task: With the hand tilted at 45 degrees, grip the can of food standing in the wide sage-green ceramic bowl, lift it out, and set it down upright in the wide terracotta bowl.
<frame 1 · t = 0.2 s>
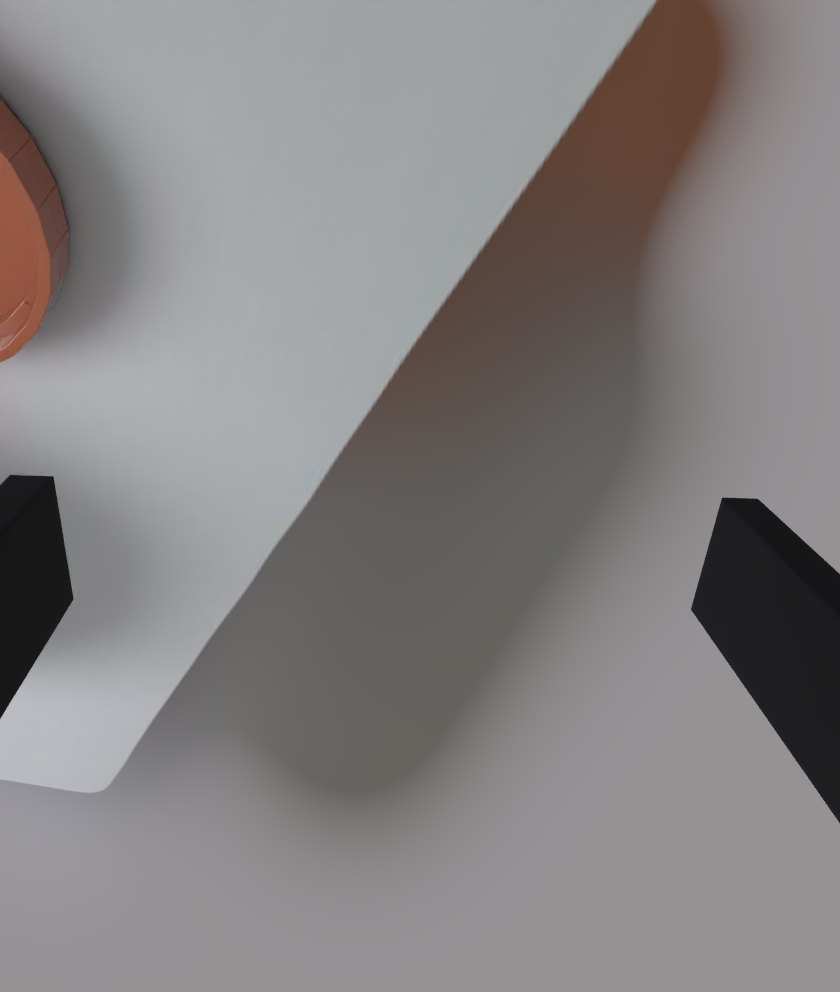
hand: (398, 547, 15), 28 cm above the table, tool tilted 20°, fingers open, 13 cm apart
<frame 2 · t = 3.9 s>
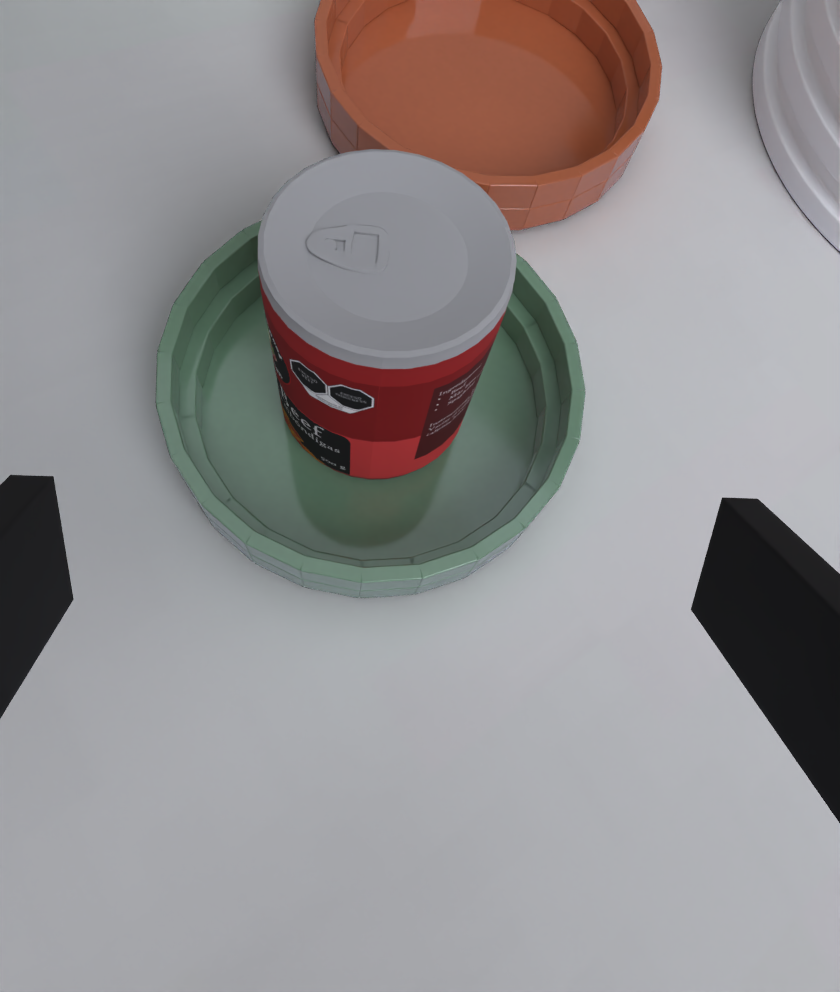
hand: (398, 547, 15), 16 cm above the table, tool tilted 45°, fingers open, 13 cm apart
canned food: (373, 406, 33), resting on sage bowl
sage bowl: (372, 407, 33), on the table
terracotta bowl: (479, 99, 39), on the table
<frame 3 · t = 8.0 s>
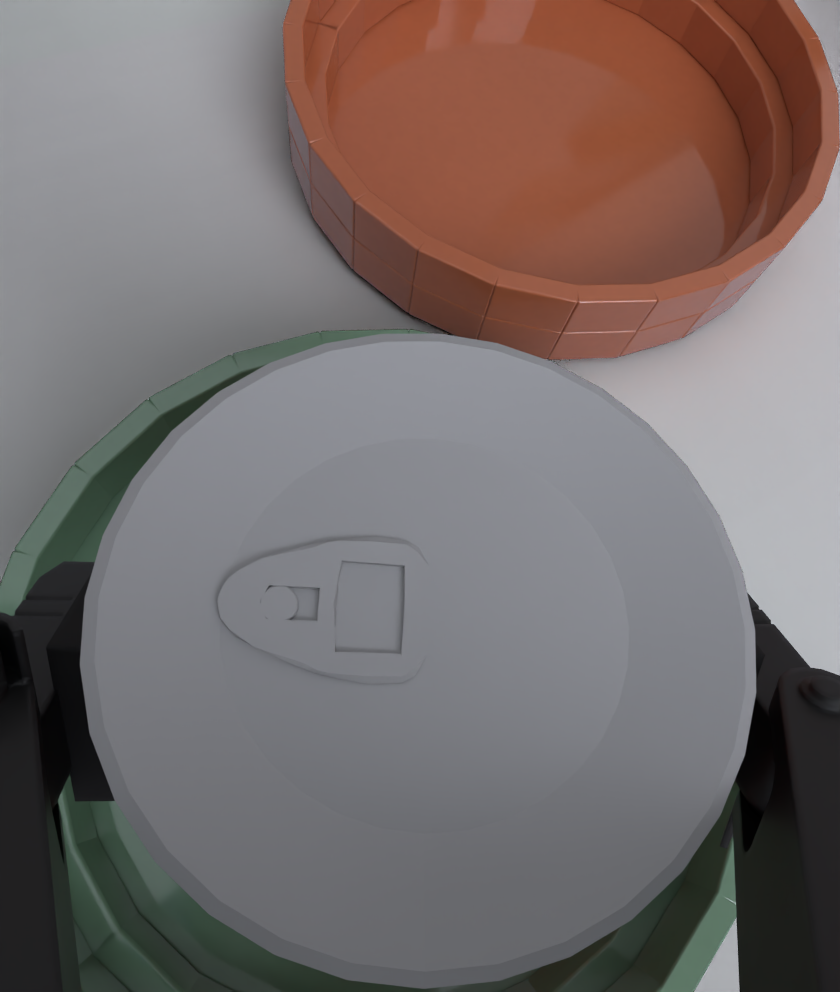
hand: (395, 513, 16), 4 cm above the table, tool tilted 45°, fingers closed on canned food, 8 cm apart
canned food: (382, 687, 19), resting on sage bowl, touching gripper
sage bowl: (382, 687, 19), on the table
terracotta bowl: (540, 144, 26), on the table
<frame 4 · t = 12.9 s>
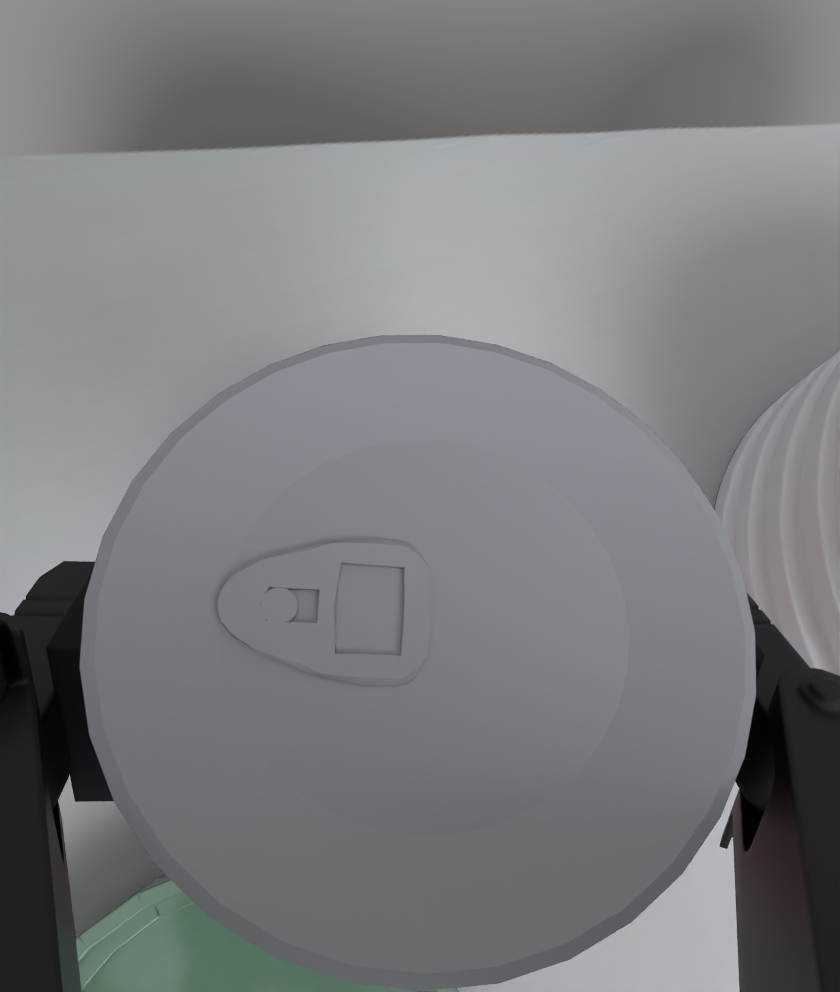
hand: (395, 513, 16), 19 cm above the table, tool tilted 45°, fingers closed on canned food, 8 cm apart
canned food: (382, 687, 19), point 14 cm above the table, touching gripper
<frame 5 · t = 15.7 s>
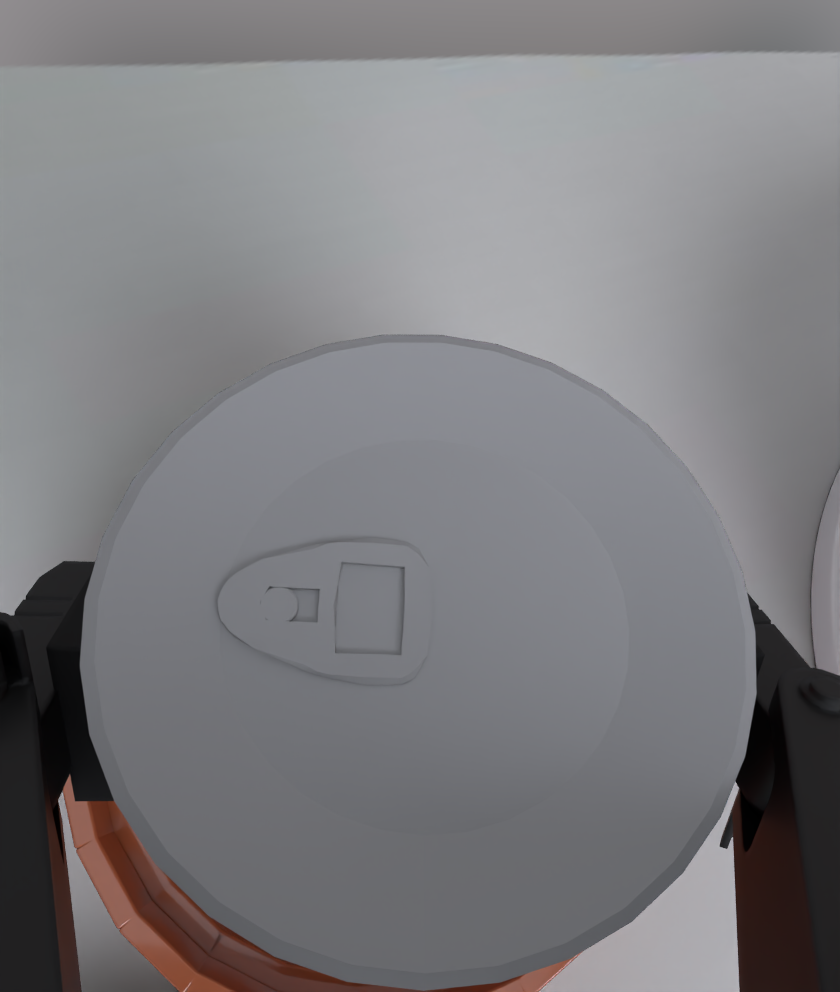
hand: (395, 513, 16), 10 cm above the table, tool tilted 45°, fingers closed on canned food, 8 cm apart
canned food: (382, 687, 19), point 5 cm above the table, touching gripper
terracotta bowl: (372, 697, 24), on the table
when the fingers open (4 cm above the table, at t = 17.6 s): canned food stays where it is, resting on terracotta bowl.
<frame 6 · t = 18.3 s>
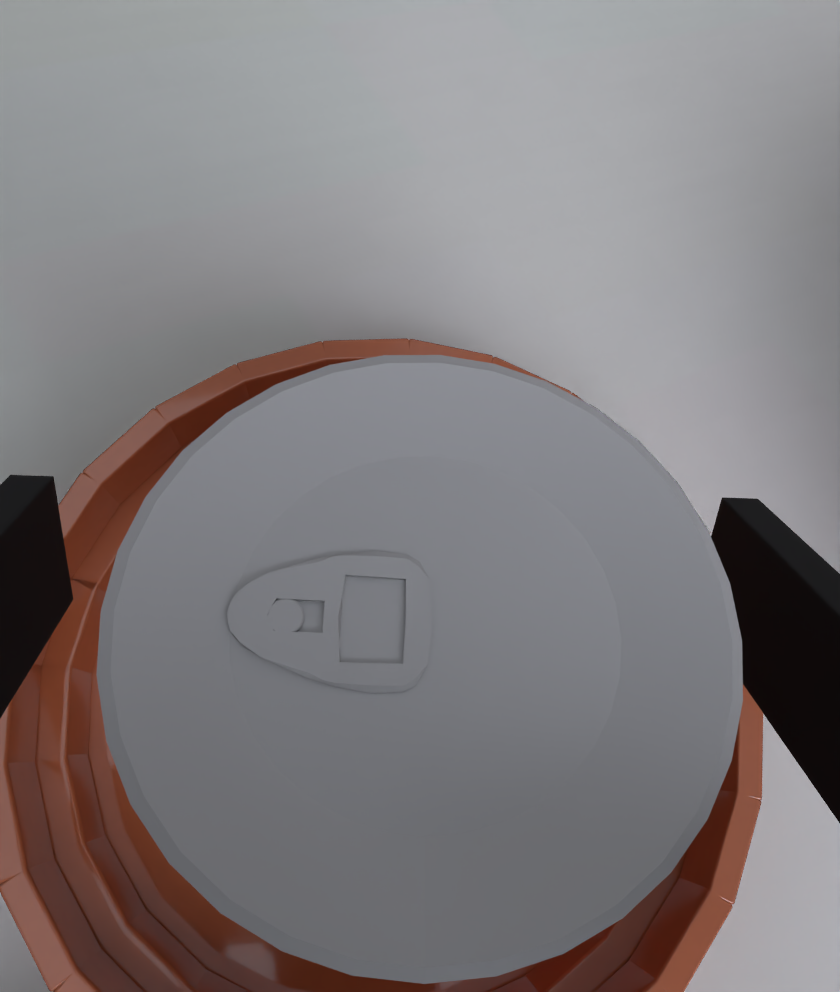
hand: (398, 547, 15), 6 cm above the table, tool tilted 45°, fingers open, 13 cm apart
canned food: (384, 691, 19), resting on terracotta bowl
terracotta bowl: (383, 689, 20), on the table
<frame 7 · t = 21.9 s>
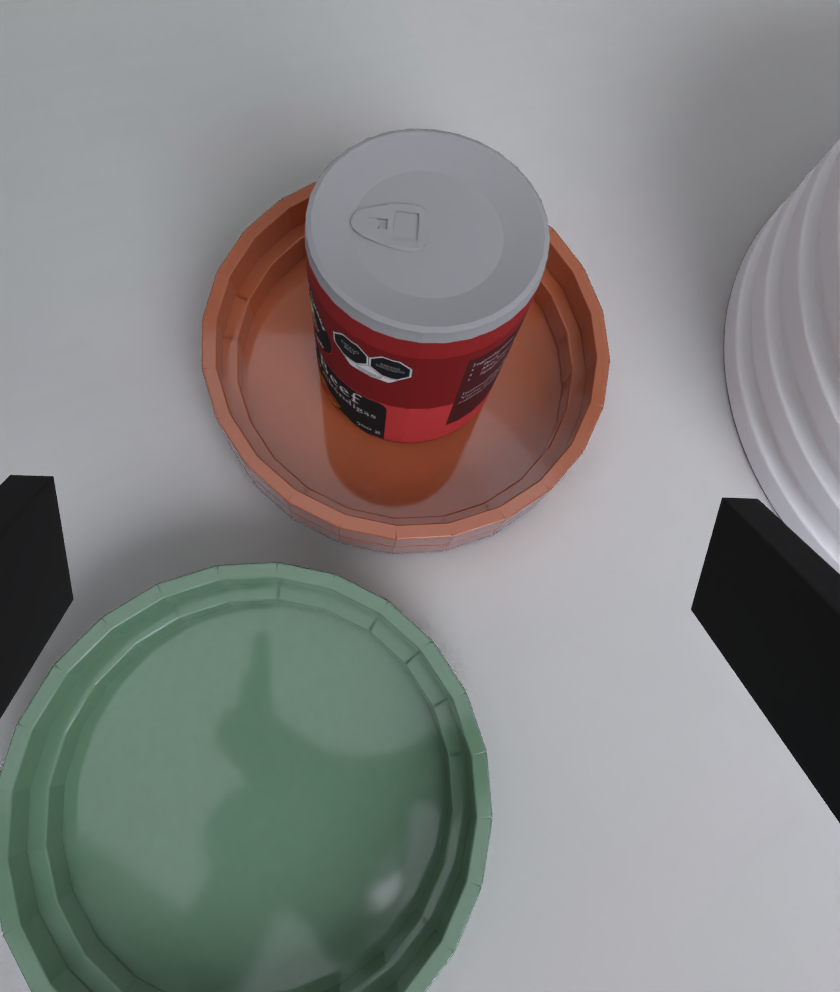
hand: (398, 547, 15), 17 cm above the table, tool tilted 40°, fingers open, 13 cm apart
canned food: (405, 372, 34), resting on terracotta bowl
sage bowl: (260, 792, 29), on the table
terracotta bowl: (404, 372, 34), on the table
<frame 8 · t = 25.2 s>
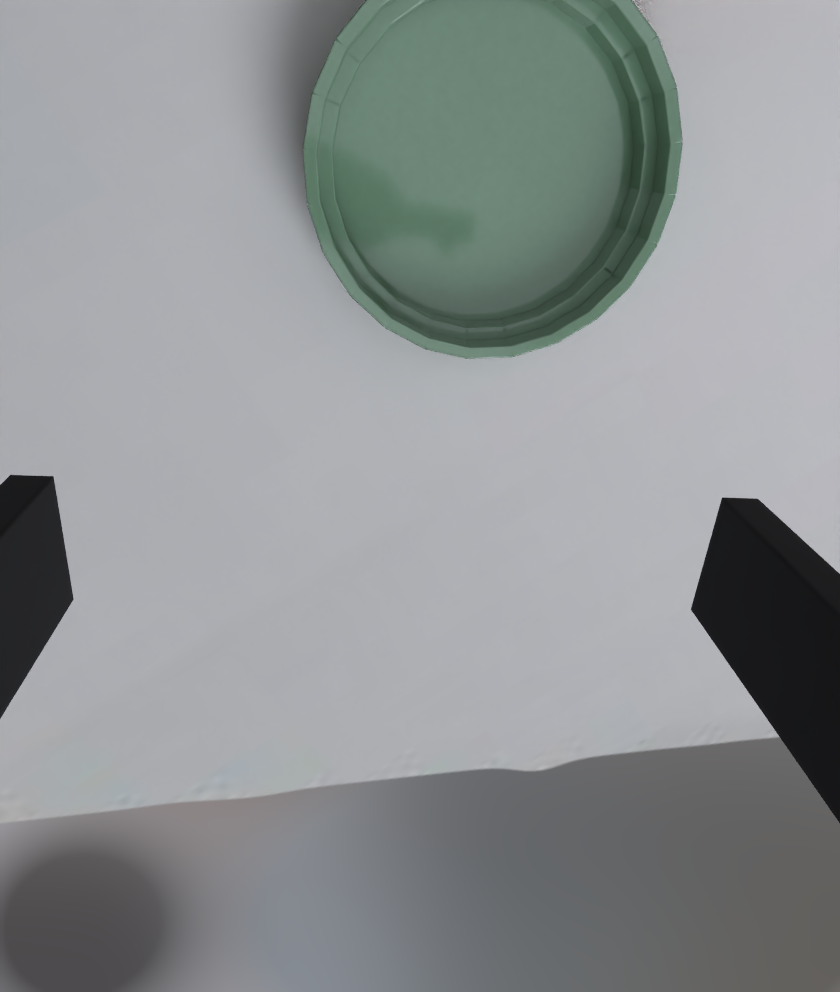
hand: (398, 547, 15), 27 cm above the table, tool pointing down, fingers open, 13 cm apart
sage bowl: (483, 169, 36), on the table
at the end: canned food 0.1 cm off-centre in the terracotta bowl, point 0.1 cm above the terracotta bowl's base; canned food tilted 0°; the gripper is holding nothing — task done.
